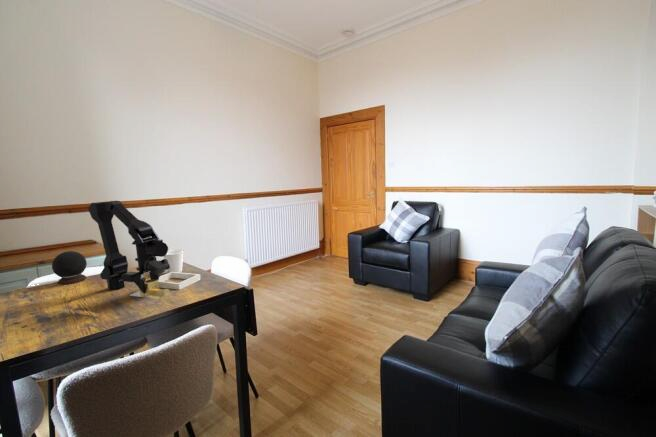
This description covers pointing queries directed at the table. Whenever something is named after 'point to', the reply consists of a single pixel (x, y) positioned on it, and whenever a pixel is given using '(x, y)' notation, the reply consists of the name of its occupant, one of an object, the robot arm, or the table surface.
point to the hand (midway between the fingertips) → (149, 290)
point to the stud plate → (150, 295)
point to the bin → (171, 285)
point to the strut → (153, 288)
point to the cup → (175, 260)
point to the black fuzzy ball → (69, 267)
